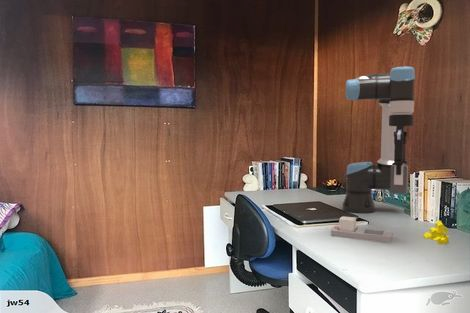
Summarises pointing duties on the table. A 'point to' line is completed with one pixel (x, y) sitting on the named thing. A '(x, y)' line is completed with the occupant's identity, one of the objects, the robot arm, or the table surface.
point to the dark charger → (399, 188)
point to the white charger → (347, 224)
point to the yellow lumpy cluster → (438, 233)
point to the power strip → (364, 234)
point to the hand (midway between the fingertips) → (399, 183)
